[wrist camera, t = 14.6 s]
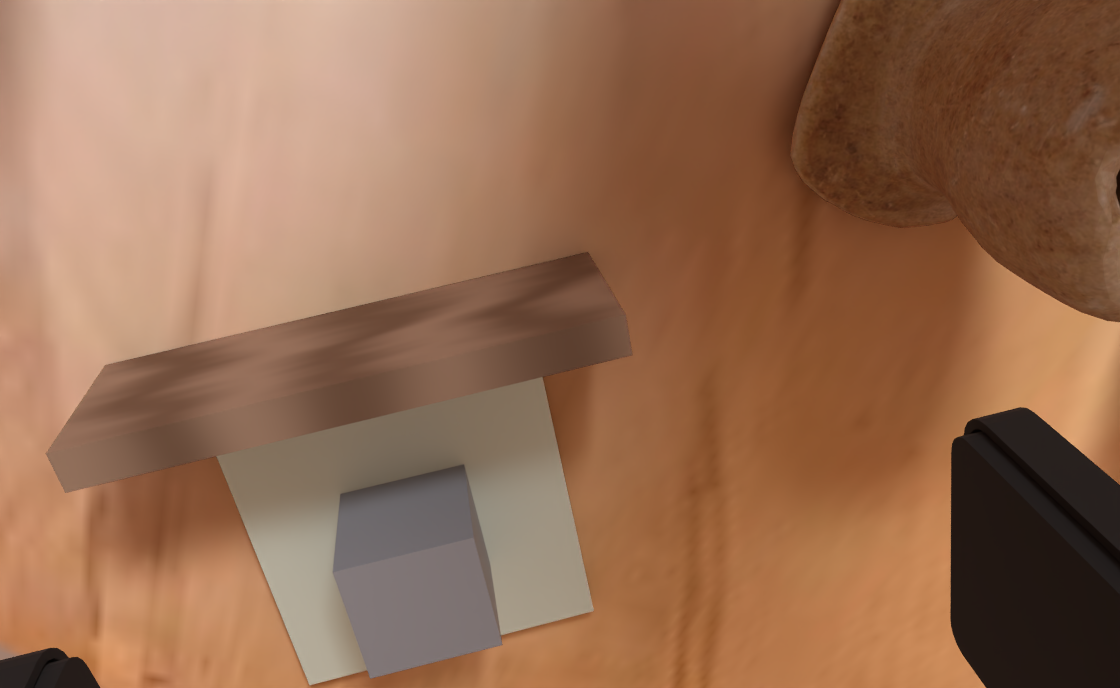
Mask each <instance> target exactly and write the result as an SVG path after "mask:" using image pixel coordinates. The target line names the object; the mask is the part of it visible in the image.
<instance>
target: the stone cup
mask: <svg viewBox="0 0 1120 688" xmlns="http://www.w3.org/2000/svg"><path fill="white" fill-rule="evenodd" d="M790 155H791V159H792V162H793V166H794V167H795V169H796V171H797V173H798V175H799V176H800V178H801V179H802V181H803V182H804V183H805V184H806V185H807V186H809V187H810V188H811V189H812V190H813V191H814V192H816V193H817V194H818V195H819V196H820V197H822V198H823V199H824V200H826V201H828V202H830V203H832V204H834V205H835V206H837V207H838V208H840V209H842V210H843V211H845V212H847V213H849V214H852V215H854V216H857V217H859V218H862V219H865V220H868V221H872V222H876V223H880V224H884V225H888V226H894V227H900V228H908V227H917V226H927V225H932V224H937V223H944V222H948V221H950V220H952V219H954V218H955V217H956V216H958V217H959V219H960V220H961V222H962V223H963V224H964V226H965V227H966V228H967V229H968V231H969V232H970V233H971V234H972V235H973V237H974V238H975V239H976V240H977V242H978V243H979V244H980V245H981V247H982V248H983V249H984V250H985V251H986V252H987V253H988V254H990V255H991V256H992V257H993V258H994V259H995V260H996V261H997V262H998V263H1000V264H1001V265H1003V266H1004V267H1006V268H1007V269H1008V270H1010V271H1011V272H1013V273H1014V274H1016V275H1017V276H1019V277H1020V278H1022V279H1023V280H1025V281H1027V282H1028V283H1030V284H1032V285H1033V286H1035V287H1036V288H1038V289H1040V290H1041V291H1043V292H1045V293H1046V294H1048V295H1050V296H1052V297H1053V298H1055V299H1057V300H1058V301H1060V302H1062V303H1064V304H1066V305H1068V306H1070V307H1072V308H1074V309H1076V310H1078V311H1080V312H1082V313H1085V314H1088V315H1091V316H1094V317H1097V318H1100V319H1103V320H1106V321H1115V322H1120V0H841V2H840V4H839V6H838V9H837V11H836V13H835V16H834V18H833V20H832V23H831V25H830V27H829V30H828V32H827V35H826V37H825V40H824V43H823V45H822V48H821V50H820V53H819V55H818V58H817V60H816V63H815V65H814V68H813V71H812V73H811V76H810V78H809V81H808V84H807V86H806V89H805V91H804V94H803V97H802V100H801V103H800V107H799V110H798V114H797V118H796V122H795V127H794V131H793V135H792V144H791V152H790Z"/></svg>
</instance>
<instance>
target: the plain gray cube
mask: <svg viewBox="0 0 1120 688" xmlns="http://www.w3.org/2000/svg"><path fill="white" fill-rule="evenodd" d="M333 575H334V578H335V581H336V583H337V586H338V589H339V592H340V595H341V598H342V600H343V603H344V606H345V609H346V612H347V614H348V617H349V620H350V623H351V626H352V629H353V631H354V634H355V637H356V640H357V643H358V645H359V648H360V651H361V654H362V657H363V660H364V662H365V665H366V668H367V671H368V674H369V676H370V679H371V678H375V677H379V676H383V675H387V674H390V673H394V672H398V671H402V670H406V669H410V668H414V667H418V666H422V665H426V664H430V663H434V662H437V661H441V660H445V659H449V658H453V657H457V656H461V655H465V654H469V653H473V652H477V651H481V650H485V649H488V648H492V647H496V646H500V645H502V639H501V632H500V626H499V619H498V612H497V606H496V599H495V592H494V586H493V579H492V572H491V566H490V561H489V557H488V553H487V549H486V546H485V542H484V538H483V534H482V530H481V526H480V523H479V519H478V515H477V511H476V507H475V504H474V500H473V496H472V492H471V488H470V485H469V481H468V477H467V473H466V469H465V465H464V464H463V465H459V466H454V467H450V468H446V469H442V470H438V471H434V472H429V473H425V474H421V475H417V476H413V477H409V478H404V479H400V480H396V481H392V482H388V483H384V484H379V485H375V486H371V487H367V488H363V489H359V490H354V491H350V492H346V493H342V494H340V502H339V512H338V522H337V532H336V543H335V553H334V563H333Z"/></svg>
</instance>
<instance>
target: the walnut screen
mask: <svg viewBox="0 0 1120 688" xmlns="http://www.w3.org/2000/svg"><path fill="white" fill-rule="evenodd" d="M631 355H632V349H631V343H630V337H629V331H628V326H627V320H626V314H625V313H624V311H623V309H622V308H621V306H620V304H619V303H618V301H617V299H616V298H615V296H614V294H613V293H612V291H611V289H610V288H609V286H608V285H607V283H606V281H605V280H604V278H603V276H602V275H601V273H600V271H599V270H598V268H597V266H596V265H595V263H594V261H593V260H592V258H591V256H590V255H589V253H588V252H587V253H583V254H578V255H574V256H570V257H565V258H561V259H557V260H553V261H548V262H544V263H540V264H536V265H531V266H527V267H523V268H519V269H514V270H510V271H506V272H501V273H497V274H493V275H489V276H484V277H480V278H476V279H472V280H467V281H463V282H459V283H455V284H450V285H446V286H442V287H437V288H433V289H429V290H425V291H420V292H416V293H412V294H408V295H403V296H399V297H395V298H391V299H386V300H382V301H378V302H373V303H369V304H365V305H361V306H356V307H352V308H348V309H344V310H339V311H335V312H331V313H326V314H322V315H318V316H314V317H309V318H305V319H301V320H297V321H292V322H288V323H284V324H280V325H275V326H271V327H267V328H262V329H258V330H254V331H250V332H245V333H241V334H237V335H233V336H228V337H224V338H220V339H216V340H211V341H207V342H203V343H198V344H194V345H190V346H186V347H181V348H177V349H173V350H169V351H164V352H160V353H156V354H152V355H147V356H143V357H139V358H134V359H130V360H126V361H122V362H117V363H113V364H109V365H105V366H104V368H103V369H102V371H101V372H100V374H99V375H98V377H97V378H96V380H95V381H94V383H93V384H92V386H91V387H90V389H89V390H88V392H87V393H86V395H85V396H84V398H83V399H82V401H81V402H80V403H79V405H78V406H77V408H76V409H75V411H74V412H73V414H72V415H71V417H70V418H69V420H68V421H67V423H66V424H65V426H64V427H63V429H62V430H61V432H60V433H59V435H58V436H57V438H56V439H55V441H54V442H53V444H52V445H51V447H50V448H49V450H48V451H47V453H46V455H47V457H48V459H49V461H50V463H51V465H52V467H53V469H54V471H55V473H56V475H57V477H58V479H59V481H60V483H61V485H62V487H63V489H64V491H65V493H67V492H71V491H75V490H79V489H84V488H88V487H92V486H96V485H100V484H104V483H108V482H112V481H117V480H121V479H125V478H129V477H133V476H137V475H141V474H145V473H149V472H154V471H158V470H162V469H166V468H170V467H174V466H178V465H182V464H186V463H191V462H195V461H199V460H203V459H207V458H211V457H215V456H219V455H224V454H228V453H232V452H236V451H240V450H244V449H248V448H252V447H256V446H261V445H265V444H269V443H273V442H277V441H281V440H285V439H289V438H293V437H298V436H302V435H306V434H310V433H314V432H318V431H322V430H326V429H331V428H335V427H339V426H343V425H347V424H351V423H355V422H359V421H363V420H368V419H372V418H376V417H380V416H384V415H388V414H392V413H396V412H401V411H405V410H409V409H413V408H417V407H421V406H425V405H429V404H433V403H438V402H442V401H446V400H450V399H454V398H458V397H462V396H466V395H470V394H475V393H479V392H483V391H487V390H491V389H495V388H499V387H503V386H508V385H512V384H516V383H520V382H524V381H528V380H532V379H536V378H540V377H545V376H549V375H553V374H557V373H561V372H565V371H569V370H573V369H578V368H582V367H586V366H590V365H594V364H598V363H602V362H606V361H610V360H615V359H619V358H623V357H627V356H631Z"/></svg>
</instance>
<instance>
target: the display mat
mask: <svg viewBox="0 0 1120 688" xmlns="http://www.w3.org/2000/svg"><path fill="white" fill-rule="evenodd" d="M216 457H217V459H218V461H219V464H220V466H221V469H222V471H223V474H224V476H225V479H226V481H227V484H228V486H229V489H230V491H231V493H232V496H233V498H234V501H235V503H236V506H237V508H238V511H239V513H240V516H241V518H242V520H243V523H244V525H245V528H246V530H247V533H248V535H249V538H250V540H251V543H252V545H253V547H254V550H255V552H256V555H257V557H258V560H259V562H260V565H261V567H262V570H263V572H264V575H265V577H266V579H267V582H268V584H269V587H270V589H271V592H272V594H273V597H274V599H275V602H276V604H277V606H278V609H279V611H280V614H281V616H282V619H283V621H284V624H285V626H286V629H287V631H288V633H289V636H290V638H291V641H292V643H293V646H294V648H295V651H296V653H297V656H298V658H299V660H300V663H301V665H302V668H303V670H304V673H305V675H306V678H307V680H308V683H309V685H313V684H317V683H321V682H324V681H328V680H332V679H336V678H340V677H344V676H347V675H351V674H355V673H359V672H363V671H366V670H367V668H366V665H365V662H364V660H363V657H362V654H361V651H360V648H359V645H358V643H357V640H356V637H355V634H354V631H353V629H352V626H351V623H350V620H349V617H348V614H347V612H346V609H345V606H344V603H343V600H342V598H341V595H340V592H339V589H338V586H337V583H336V581H335V578H334V575H333V563H334V553H335V543H336V532H337V522H338V512H339V502H340V494H342V493H346V492H350V491H354V490H359V489H363V488H367V487H371V486H375V485H379V484H384V483H388V482H392V481H396V480H400V479H404V478H409V477H413V476H417V475H421V474H425V473H429V472H434V471H438V470H442V469H446V468H450V467H454V466H459V465H463V464H464V465H465V469H466V473H467V477H468V481H469V485H470V488H471V492H472V496H473V500H474V504H475V507H476V511H477V515H478V519H479V523H480V526H481V530H482V534H483V538H484V542H485V546H486V549H487V553H488V557H489V561H490V566H491V572H492V579H493V586H494V592H495V599H496V606H497V612H498V619H499V626H500V632H501V635H504V634H508V633H512V632H516V631H519V630H523V629H527V628H531V627H535V626H538V625H542V624H546V623H550V622H554V621H558V620H561V619H565V618H569V617H573V616H577V615H580V614H584V613H588V612H592V611H594V609H593V604H592V600H591V595H590V591H589V586H588V582H587V577H586V573H585V568H584V563H583V559H582V554H581V550H580V545H579V541H578V536H577V532H576V527H575V523H574V518H573V513H572V509H571V504H570V500H569V495H568V491H567V486H566V482H565V477H564V472H563V468H562V463H561V459H560V454H559V450H558V445H557V441H556V436H555V432H554V427H553V422H552V418H551V413H550V409H549V404H548V400H547V395H546V391H545V386H544V382H543V377H540V378H536V379H532V380H528V381H524V382H520V383H516V384H512V385H508V386H503V387H499V388H495V389H491V390H487V391H483V392H479V393H475V394H470V395H466V396H462V397H458V398H454V399H450V400H446V401H442V402H438V403H433V404H429V405H425V406H421V407H417V408H413V409H409V410H405V411H401V412H396V413H392V414H388V415H384V416H380V417H376V418H372V419H368V420H363V421H359V422H355V423H351V424H347V425H343V426H339V427H335V428H331V429H326V430H322V431H318V432H314V433H310V434H306V435H302V436H298V437H293V438H289V439H285V440H281V441H277V442H273V443H269V444H265V445H261V446H256V447H252V448H248V449H244V450H240V451H236V452H232V453H228V454H224V455H219V456H216Z"/></svg>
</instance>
